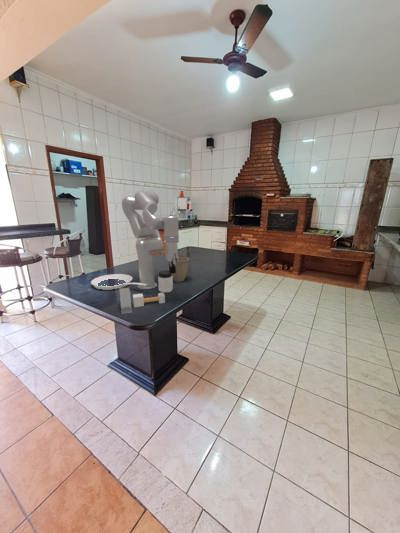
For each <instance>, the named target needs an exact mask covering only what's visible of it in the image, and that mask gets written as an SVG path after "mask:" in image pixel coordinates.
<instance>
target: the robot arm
mask: <svg viewBox="0 0 400 533" xmlns="http://www.w3.org/2000/svg"><path fill="white" fill-rule="evenodd" d="M159 200H160V198H159V195H158V193H157V192H155V191H150V190H149V191H148V190H139V191H136V192H135V194H134V195H131V196H130V195H129V196H125V197H123V198H122V200H121V208H122V211H123V213H124V215H125V217H126V218H127V220H128V223H129V225H130V228H131V231H132V233H133V236H134V237H135V238H136V239H139V240H136V243H135V249H136V253H137V258H138V259H137V260H138V275H139V283H144V284H147V285H146V286H143V285H137V288H138V289H140V290H153V289H155V288H156V287H158V284H157V282H155V266H154V265H155V263H154V262H155V261H154V258H153V257H152V255H151V254H154V253H155V254H156V253H160V252H162V251H163V249H165V251H164V252H165V256H164V258H165V260H166V261H167V262H168V261H169V263H168V267H169V268H168V271H169V273H170V274H171V273H176V261H178V257H179V249H178V243H179V242H180V241H179V240H180V239H179V238H180V237H179V236H180V235H179V233H180V232H179V217H178V216H177V215H169V214H156V212H157V211H158V204H159V202H160V201H159ZM137 211H142V214H141V215H142V216H141V215H140V213H138V212H137ZM159 230H163V234H164V236H163V238H164V239H162V236H161V234H160V232H159ZM163 240H164V243H163ZM164 244H165V248H164Z"/></svg>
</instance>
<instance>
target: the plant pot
mask: <svg viewBox="0 0 400 533" xmlns="http://www.w3.org/2000/svg"><path fill="white" fill-rule="evenodd" d="M167 263H168V264H169V261H167ZM189 263H190V259H189V257H186V256H178V261H176V273H172V276H173V282H177V283H181V282H184V281H185V279H186V277H187V273H188V267H189Z"/></svg>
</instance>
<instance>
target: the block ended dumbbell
mask: <svg viewBox="0 0 400 533" xmlns="http://www.w3.org/2000/svg"><path fill="white" fill-rule="evenodd" d="M132 301H133V302H132V303H133V307H134V308H139V307H145V303H149V302H156V301H158V303H159V304H165V303H166V295H165V292H164V293H163V292H158V293H157V296H154V297H146V298H145V297H144V295H143V293H134V294H132Z"/></svg>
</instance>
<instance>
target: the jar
mask: <svg viewBox="0 0 400 533" xmlns="http://www.w3.org/2000/svg"><path fill="white" fill-rule="evenodd" d="M157 278H158V280H157V281H158V291H159V292H160V293H164V294H165V293H171V292H172V291H173V290H174V285H173V284H174V280H173V276H172V273H171V274H170V273H169V269H168V270H160V271H158V276H157Z"/></svg>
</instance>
